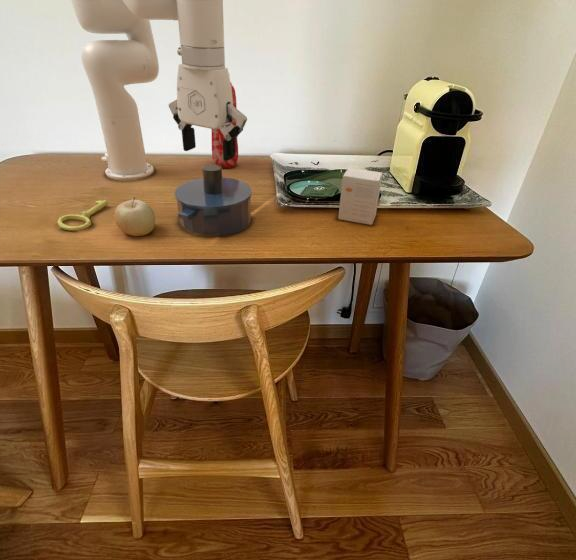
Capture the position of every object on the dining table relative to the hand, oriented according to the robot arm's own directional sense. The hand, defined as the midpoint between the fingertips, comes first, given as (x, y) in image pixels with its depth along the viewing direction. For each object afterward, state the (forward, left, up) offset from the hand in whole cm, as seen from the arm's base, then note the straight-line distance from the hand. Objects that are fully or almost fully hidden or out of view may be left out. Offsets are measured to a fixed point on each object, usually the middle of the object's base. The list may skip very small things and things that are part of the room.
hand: (209, 153), depth 80 cm
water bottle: (-18, +33, -15) cm, 40 cm away
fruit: (-10, -13, -15) cm, 22 cm away
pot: (+1, 0, -15) cm, 15 cm away
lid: (+1, 0, -8) cm, 8 cm away
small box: (+28, +18, -15) cm, 36 cm away
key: (-24, -14, -15) cm, 31 cm away
